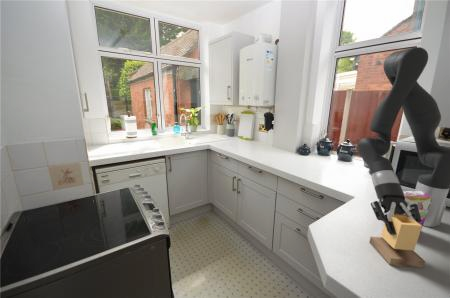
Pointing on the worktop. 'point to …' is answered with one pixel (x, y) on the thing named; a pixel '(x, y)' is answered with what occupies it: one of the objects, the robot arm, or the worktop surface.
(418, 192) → the candy bar box
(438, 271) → the worktop surface
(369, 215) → the worktop surface
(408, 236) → the sleeve
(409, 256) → the post stand
